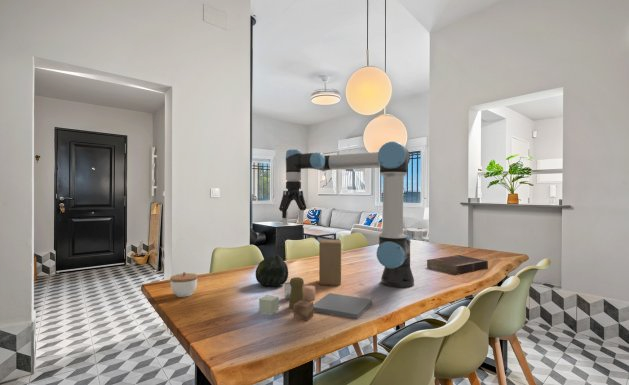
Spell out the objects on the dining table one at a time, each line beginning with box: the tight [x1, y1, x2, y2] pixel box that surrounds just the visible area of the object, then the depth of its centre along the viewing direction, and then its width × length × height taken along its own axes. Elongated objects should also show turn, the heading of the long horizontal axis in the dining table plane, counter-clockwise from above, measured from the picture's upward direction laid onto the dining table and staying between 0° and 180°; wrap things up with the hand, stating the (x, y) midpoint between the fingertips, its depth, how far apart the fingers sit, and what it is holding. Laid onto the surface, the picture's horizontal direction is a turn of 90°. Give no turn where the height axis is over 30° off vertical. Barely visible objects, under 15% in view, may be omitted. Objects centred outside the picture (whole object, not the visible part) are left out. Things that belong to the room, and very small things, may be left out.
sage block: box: [258, 294, 280, 316], centre depth 118 cm, size 5×5×5 cm
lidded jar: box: [170, 271, 199, 298], centre depth 138 cm, size 11×11×9 cm
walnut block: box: [292, 300, 314, 322], centre depth 112 cm, size 5×5×5 cm
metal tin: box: [284, 281, 291, 302], centre depth 132 cm, size 5×5×6 cm
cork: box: [288, 276, 305, 311], centre depth 122 cm, size 6×6×11 cm
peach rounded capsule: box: [302, 285, 316, 302], centre depth 131 cm, size 5×5×5 cm
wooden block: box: [318, 238, 342, 286], centre depth 156 cm, size 10×10×20 cm
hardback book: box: [426, 254, 489, 275], centre depth 188 cm, size 29×19×5 cm, turn 121°
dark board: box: [313, 292, 373, 320], centre depth 123 cm, size 18×18×2 cm
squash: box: [255, 254, 289, 287], centre depth 153 cm, size 14×15×15 cm
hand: (293, 223), depth 163 cm, fingers open, 13 cm apart
